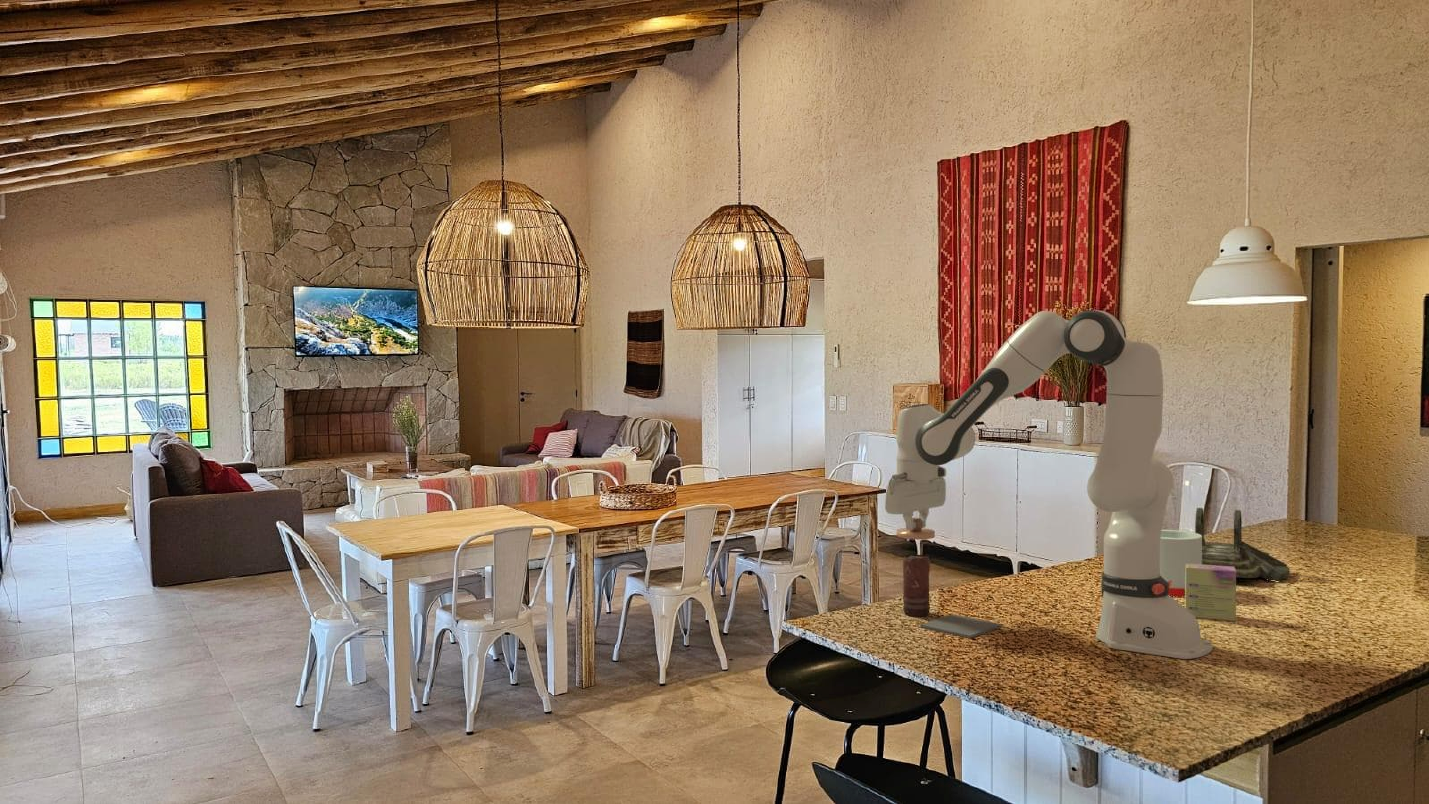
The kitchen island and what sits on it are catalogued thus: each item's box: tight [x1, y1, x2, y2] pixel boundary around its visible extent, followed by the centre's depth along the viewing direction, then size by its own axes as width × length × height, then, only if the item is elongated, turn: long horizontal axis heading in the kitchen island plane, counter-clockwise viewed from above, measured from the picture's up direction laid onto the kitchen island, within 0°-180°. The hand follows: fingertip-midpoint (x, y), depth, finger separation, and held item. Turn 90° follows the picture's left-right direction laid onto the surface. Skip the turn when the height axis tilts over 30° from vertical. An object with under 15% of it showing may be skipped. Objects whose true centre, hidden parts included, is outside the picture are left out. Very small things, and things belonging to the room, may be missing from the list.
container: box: [1160, 529, 1202, 598], centre depth 248 cm, size 16×16×15 cm
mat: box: [919, 613, 1002, 639], centre depth 216 cm, size 13×13×1 cm
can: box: [902, 554, 931, 618], centre depth 228 cm, size 6×6×14 cm
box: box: [1184, 563, 1237, 622], centre depth 221 cm, size 10×6×12 cm, turn 65°
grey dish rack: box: [1194, 507, 1290, 582], centre depth 269 cm, size 35×34×18 cm
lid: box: [896, 517, 936, 540], centre depth 228 cm, size 9×9×4 cm
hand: (915, 528), depth 228 cm, fingers closed on lid, 3 cm apart
